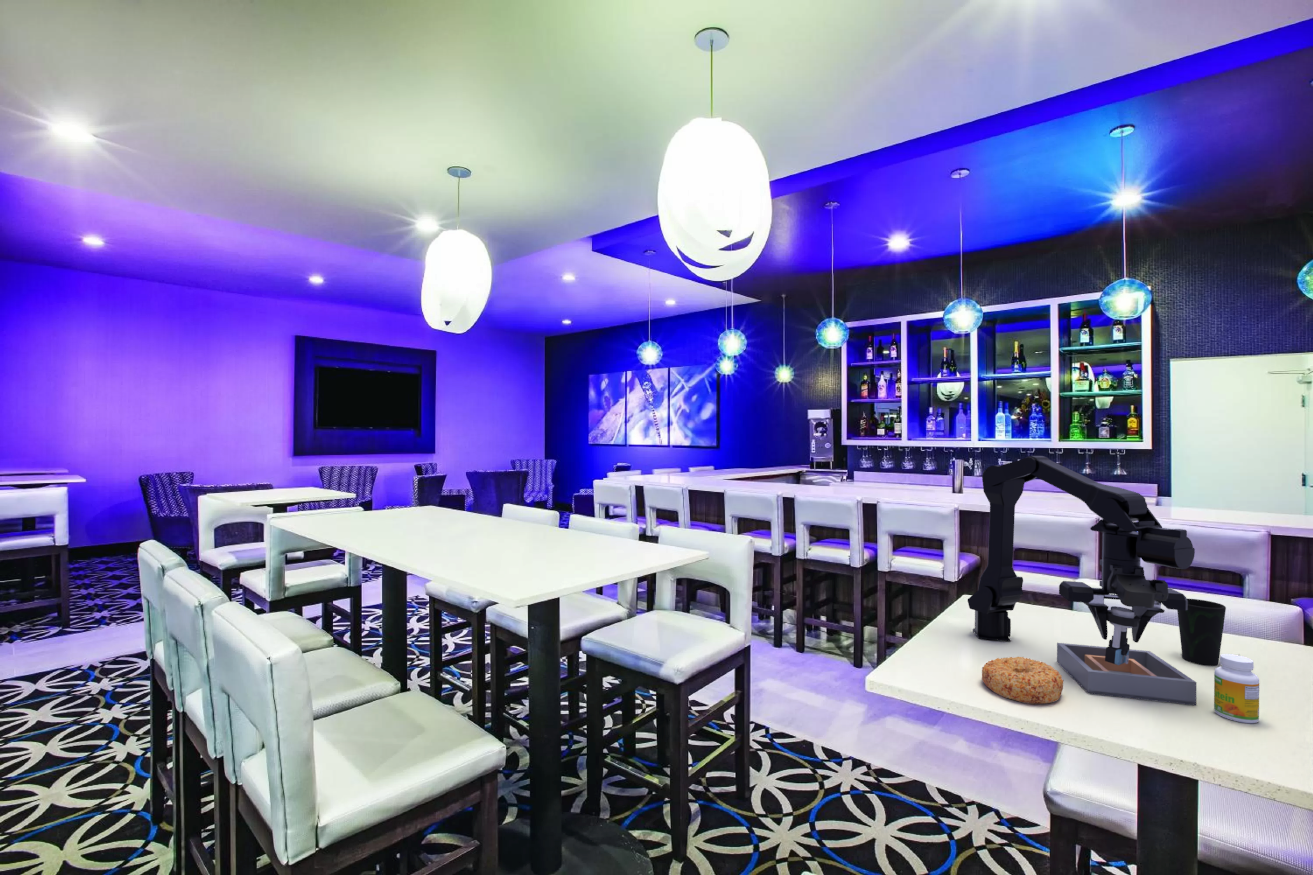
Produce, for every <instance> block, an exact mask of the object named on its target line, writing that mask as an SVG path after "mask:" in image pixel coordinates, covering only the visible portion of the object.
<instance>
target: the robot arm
mask: <svg viewBox="0 0 1313 875" xmlns="http://www.w3.org/2000/svg"><path fill="white" fill-rule="evenodd" d="M981 479H982V487H983V489H982V491H983V493H984V495H985V497H986V498H987V500H988V502H989V520H988V521H989V525H988V526H989V527H988V549H987V551H988V552H987V566H986V568H985V569H984V570H983V573H982V574H981V576H980V577H979V583H978V588H977V591H976V592H974V593H973V594H972V595H971V596H969V597H968V598H967V603H968V607H969V609H970V610H973V611H974V627H973V628H972V631H973V633H974V635H975V636H976V638H978V639H979V640H980V639H981V640H991V641H1003V642H1011V638H1010V637H1011V634H1012V633H1011V632H1012V631H1011V630H1012V629H1011V628H1012V626H1011V625H1012V623H1011V618H1010V617H1009V612H1008V611H1014V609H1015V606H1016V603H1018V602H1019V601H1020V600H1021V596H1023V595H1024V592H1023V583H1024V578H1023V576H1018V575H1017V573H1016V572H1015V569H1014V566H1013V564H1014V563H1013V562H1014V541H1015V538H1014V537H1015V536H1014V535H1015V534H1014V533H1015V514H1016V513H1015V511H1016V509H1015V508H1016V504H1017V503H1018V501H1019V500H1020V499H1021V498H1020V497H1021V496H1022V495H1023V492H1024V489H1025V488H1024V487H1025V483H1027V482H1031V481H1033V480H1035V479H1040V480H1042V481H1043V482H1045V483H1047V484H1049V485H1051V486H1053V487H1055V488H1057V489H1059V490H1061V491H1063V492H1065V493H1067V494H1069V495H1071V496H1073V497H1074V498H1077V499H1078V500H1080V501H1081V502H1083V503H1084V504H1085V505H1086V506H1087V507H1088V509H1089V510H1090V511H1091V512H1093V514H1095V515H1096V516H1098V517H1099V518H1101V519H1099V521H1098V522H1097V523H1095V524H1094V525H1092V526H1090V527H1089V529H1090V530H1091V531H1092V532H1099V533H1102V548H1101V549H1102V551H1101V552H1102V555H1101V558H1102V559H1099V566H1101V580H1099V583H1098V584H1099V585H1098V586H1099V587H1091V586H1090V585H1088V584H1086V583H1085V582H1084V581H1083V582H1082V581H1071V580H1068V581H1067V580H1063V581H1061V582H1060V584H1059V585H1058V595H1059V596H1061V597H1062V598H1064V600H1065V599H1066V600H1067V601H1068V602H1073V603H1083V604H1084V605H1086V606H1087V608H1088V609H1089V611H1090V613H1091V615H1092V617H1093V620H1094V621H1095V624H1096V627H1097V629H1098V631H1099V633H1100V636H1101V638H1102V639H1103V640H1107V639H1108V633H1109V632H1108V621H1107V617H1106V612H1107V610H1109V606H1108V605H1107V604H1105V600H1106V599H1107V600H1116V601H1117V600H1118V601H1120V603H1121V604H1122V605H1123V606H1126V607H1131V610H1133V611H1135V613H1134V615H1136V616H1138V617H1140V621H1138V623H1137V627H1133V628H1131V637H1132V641H1133V642H1134V643H1139V642H1140V640H1141V637H1142V635H1143V633H1144V631H1145V630H1146V627H1147V625H1148V624H1149V622H1150V621H1151V619H1152V618H1153V617H1155V616H1156V615H1157V614H1164V613H1165V612H1166V611H1165V609H1163V608H1162V605H1163V606H1164V607H1165V608H1166V609H1167V610H1174V611H1175V610H1176V611H1177V610H1185V611H1186V610H1188V601H1187V599H1188V597H1187V596H1186V595H1185V594H1183V593H1181V592H1179V591H1177V590H1174V589H1172V588H1170V587H1169V583H1168V582H1167V581H1166V580H1164V579H1147V578H1146V576H1145V570H1144V569H1145V568H1144V566H1141V560H1142V561H1143V562H1145V563H1147V564H1150V565H1151V564H1152V565H1159V566H1162V567H1168V568H1174V569H1175V568H1176V569H1179V570H1180V569H1181V570H1187V569H1188V568H1189V567H1190V566H1191V565H1192V564H1193V562H1194V559H1195V552H1196V551H1195V550H1196V549H1195V547H1194V546H1193V542H1192V540H1191V539H1190V538H1189V537H1188V535H1187V534H1188V531H1187V530H1186V529H1183V528H1166V527H1163V526H1162V524H1161V523H1160V522H1159V521H1158V519H1157V518H1156V516H1155V515H1154V514H1153V513H1152V511H1151V510H1150V508H1149V507H1148V503H1147V501H1146V497H1145V496H1143V495H1142V494H1140V493H1139V492H1136V491H1134V490H1129V489H1125V488H1122V487H1118V486H1112V485H1108V484H1104V483H1100V482H1097V481H1095V480H1093V479H1091V478H1089V477H1087V476H1085V475H1082V474H1081V473H1078V472H1076V471H1074V470H1071V469H1070V468H1067V467H1066V466H1063V465H1062V464H1059V463H1057V462H1054V461H1053V460H1051V459H1050V458H1048V457H1047V456H1043V455H1029V456H1026V457H1023V458H1022V459H1019V460H1015V461H1012V462H1009V463H1004V464H1001V465H1000V464H999V465H990V466H988V467H986V469H984V470H983V472H982V476H981Z"/></svg>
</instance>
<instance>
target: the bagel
mask: <svg viewBox="0 0 1313 875" xmlns="http://www.w3.org/2000/svg"><path fill="white" fill-rule="evenodd" d="M981 680H982V682H983V683H984V684H985V686H986V687H987V688H989V689H990V690H991V691H992V692H994V693H995V694H997V695H999V696H1001V697H1004V698H1006V699H1009V700H1013V701H1016V702H1020V703H1025V704H1029V705H1032V704H1033V705H1034V704H1036V705H1040V704H1043V705H1044V704H1050V703H1053V702H1057V701H1058V700H1059V699H1060V698H1061V696H1062V694H1063V689H1064V679H1063V676H1062V674H1060V672H1059V671H1058V670H1056V669H1055V668H1054V667H1053V666H1051V665H1049V664H1047V663H1046V662H1043V661H1040V660H1037V659H1031V658H1028V657H1024V656H1015V657H1012V656H1011V657H1010V656H1009V657H1003V658H1002V657H1001V658H999V657H996V658H995V659H991V660H988V662H986V663H985V664H984V665H983V666H982V667H981Z"/></svg>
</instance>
